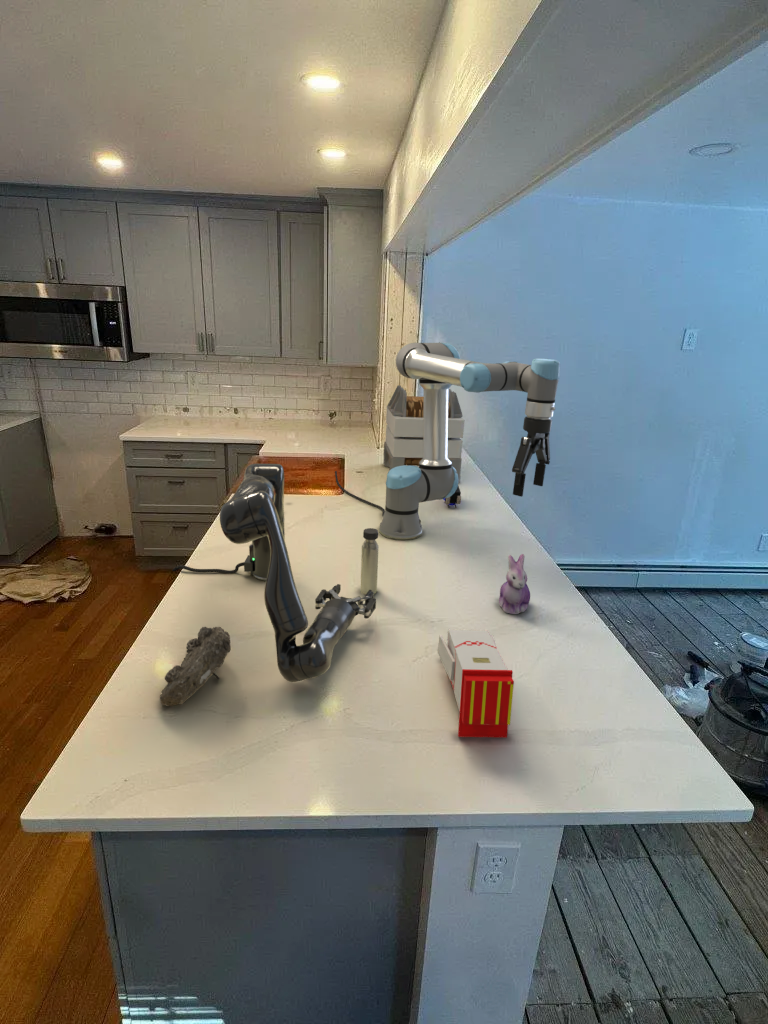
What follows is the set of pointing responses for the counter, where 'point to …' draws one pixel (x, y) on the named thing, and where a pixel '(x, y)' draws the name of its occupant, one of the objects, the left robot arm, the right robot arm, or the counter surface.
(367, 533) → the cap
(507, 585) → the figurine
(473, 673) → the toy
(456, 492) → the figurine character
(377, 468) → the counter surface
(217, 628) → the fossil
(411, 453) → the light grey slatted box
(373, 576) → the bottle
